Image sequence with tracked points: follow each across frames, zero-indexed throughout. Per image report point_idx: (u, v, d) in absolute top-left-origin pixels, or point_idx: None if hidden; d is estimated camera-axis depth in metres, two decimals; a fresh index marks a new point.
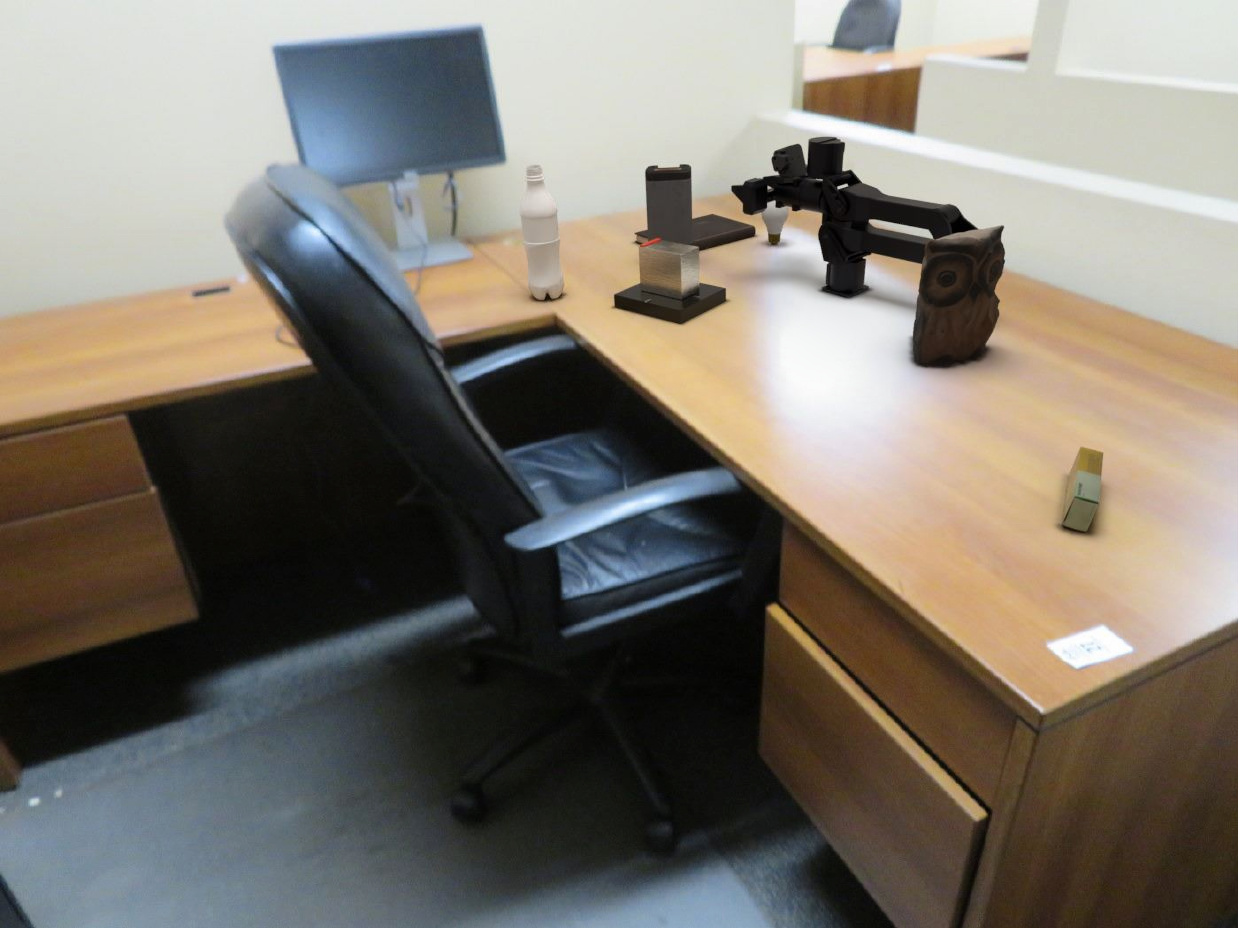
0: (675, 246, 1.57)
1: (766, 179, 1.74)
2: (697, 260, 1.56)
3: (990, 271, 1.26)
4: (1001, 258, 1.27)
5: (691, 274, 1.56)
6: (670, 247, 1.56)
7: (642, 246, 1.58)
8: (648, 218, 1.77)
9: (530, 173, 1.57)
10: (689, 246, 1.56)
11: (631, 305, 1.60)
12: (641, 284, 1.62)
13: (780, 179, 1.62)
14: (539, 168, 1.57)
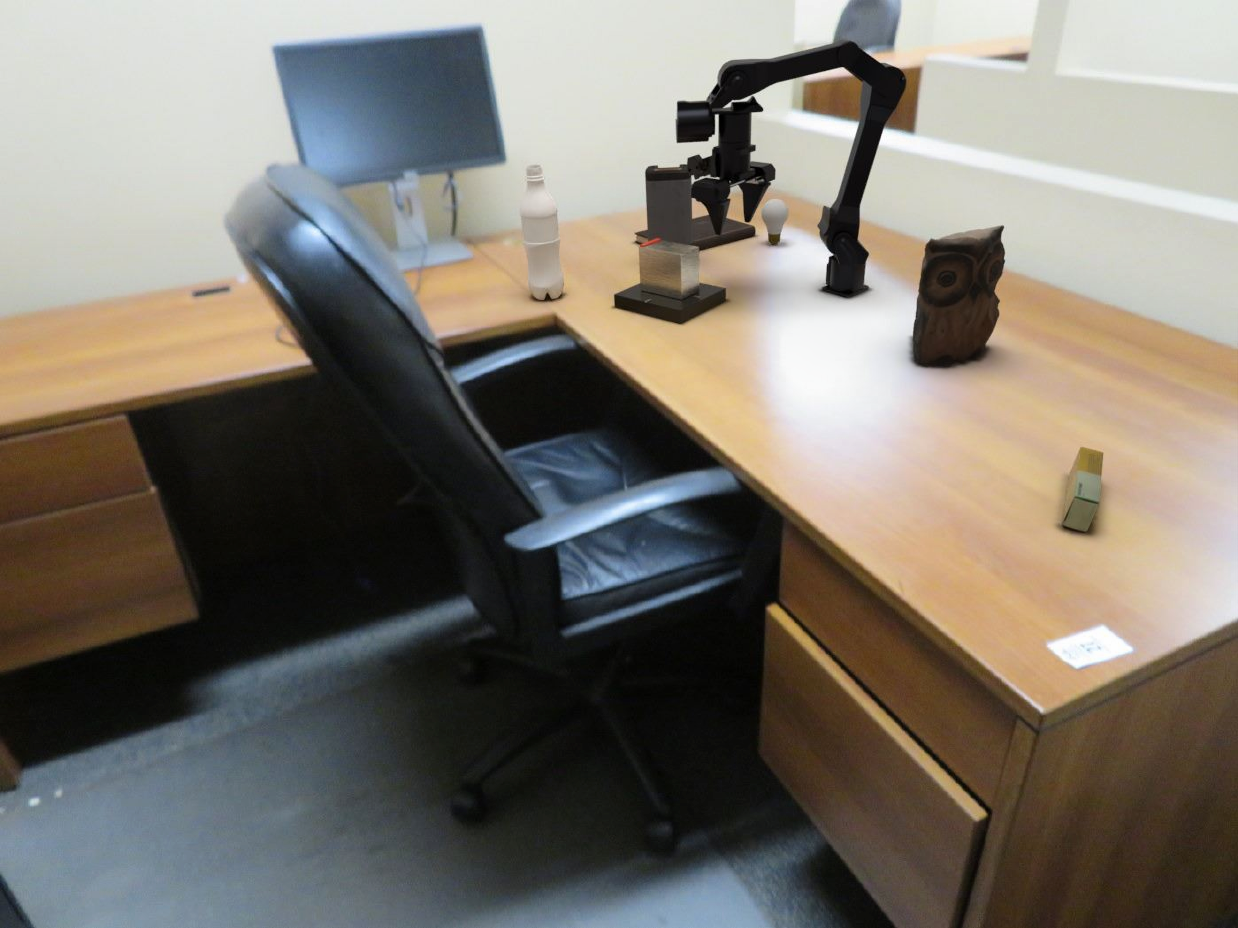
0: (675, 246, 1.57)
1: (746, 216, 1.60)
2: (697, 260, 1.56)
3: (990, 271, 1.26)
4: (1001, 258, 1.27)
5: (691, 274, 1.56)
6: (670, 247, 1.56)
7: (642, 246, 1.58)
8: (648, 218, 1.77)
9: (530, 173, 1.57)
10: (689, 246, 1.56)
11: (631, 305, 1.60)
12: (641, 284, 1.62)
13: (712, 169, 1.52)
14: (539, 168, 1.57)
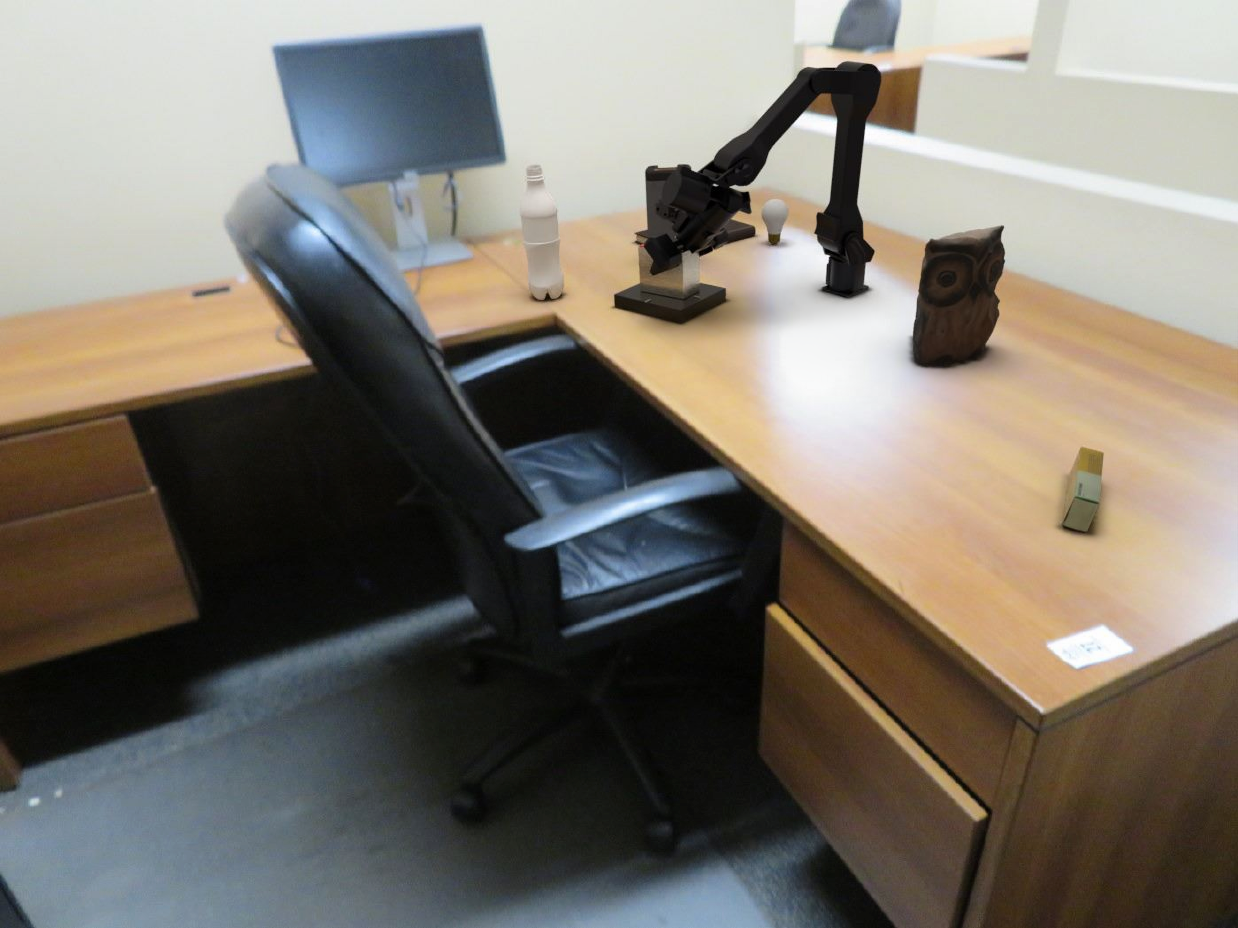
0: None
1: None
2: (697, 260, 1.57)
3: (990, 271, 1.26)
4: (1001, 258, 1.27)
5: (692, 274, 1.57)
6: None
7: (642, 247, 1.57)
8: (648, 218, 1.77)
9: (530, 173, 1.57)
10: None
11: (631, 305, 1.60)
12: (641, 285, 1.61)
13: (676, 224, 1.49)
14: (539, 168, 1.57)
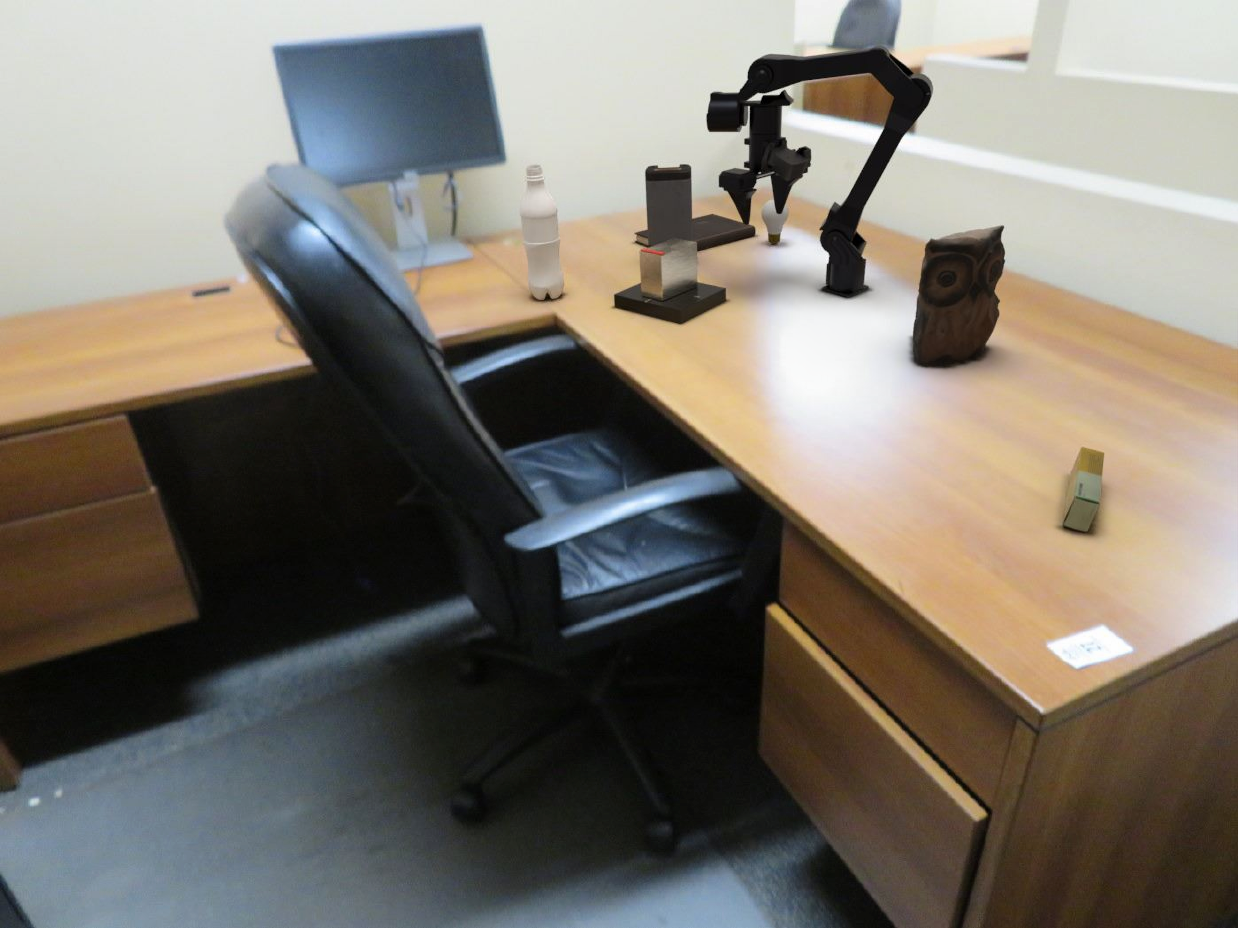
0: (669, 244, 1.58)
1: None
2: None
3: (990, 271, 1.26)
4: (1001, 258, 1.27)
5: None
6: (670, 245, 1.57)
7: (663, 254, 1.53)
8: (648, 218, 1.77)
9: (530, 173, 1.57)
10: (672, 240, 1.60)
11: (631, 305, 1.60)
12: (663, 294, 1.56)
13: None
14: (539, 168, 1.57)
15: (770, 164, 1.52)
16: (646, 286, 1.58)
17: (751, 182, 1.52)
